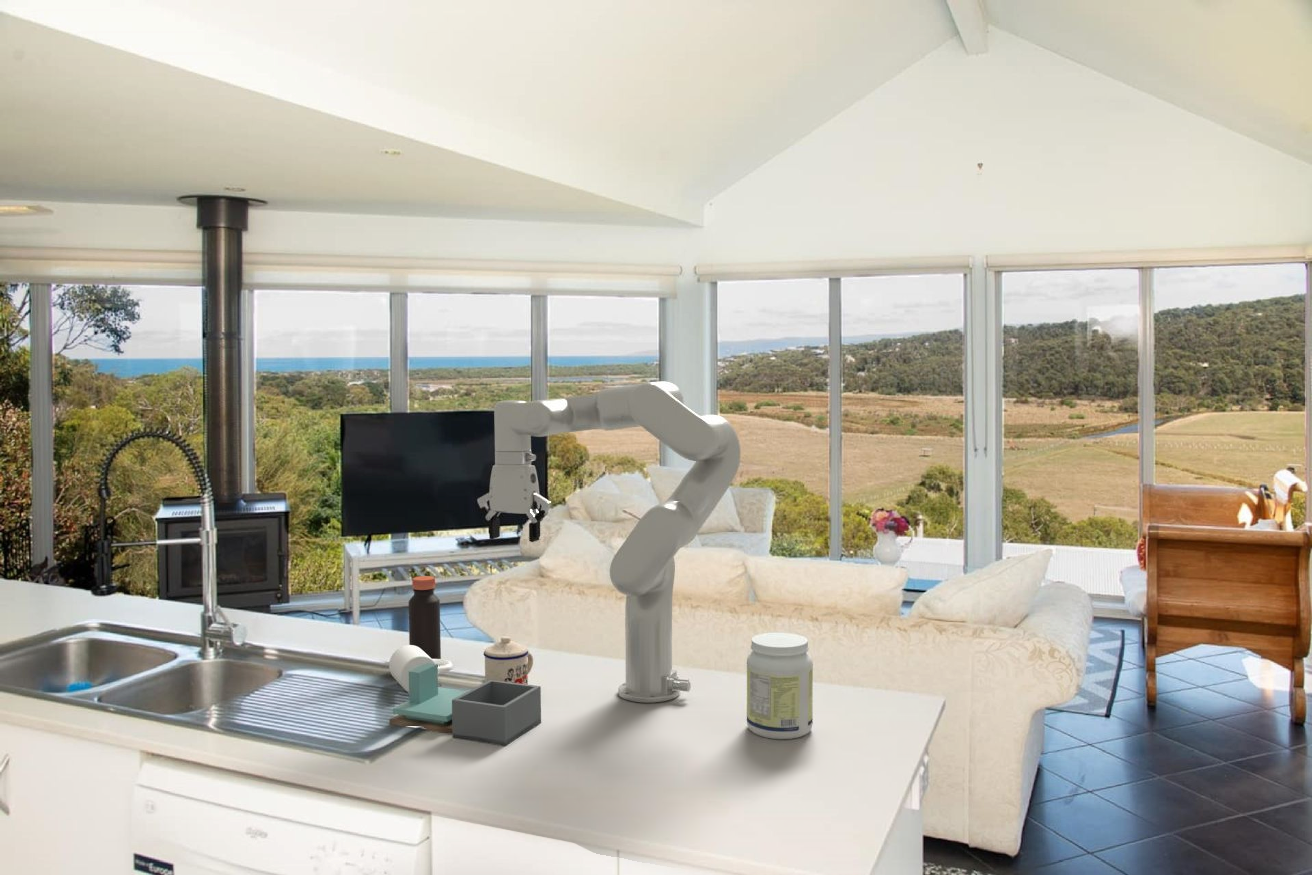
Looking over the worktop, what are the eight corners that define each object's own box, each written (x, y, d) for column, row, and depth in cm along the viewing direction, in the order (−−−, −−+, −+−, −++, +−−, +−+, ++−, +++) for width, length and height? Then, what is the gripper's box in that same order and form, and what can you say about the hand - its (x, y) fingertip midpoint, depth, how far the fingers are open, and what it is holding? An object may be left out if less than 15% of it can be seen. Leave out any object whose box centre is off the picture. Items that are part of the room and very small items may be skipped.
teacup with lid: (506, 702, 210) (505, 645, 209) (474, 694, 215) (473, 638, 214) (547, 687, 219) (547, 632, 218) (516, 679, 225) (516, 626, 224)
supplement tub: (774, 713, 202) (774, 627, 201) (826, 729, 194) (826, 639, 192) (732, 729, 194) (732, 639, 193) (784, 746, 185) (785, 652, 184)
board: (493, 710, 205) (493, 705, 205) (452, 734, 192) (452, 728, 192) (433, 701, 210) (433, 696, 210) (389, 724, 197) (389, 718, 197)
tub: (541, 722, 198) (540, 686, 197) (505, 745, 186) (504, 707, 185) (490, 715, 202) (490, 679, 202) (452, 737, 190) (451, 699, 190)
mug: (400, 697, 214) (399, 658, 213) (389, 684, 222) (388, 647, 222) (458, 688, 219) (457, 651, 219) (444, 676, 228) (444, 639, 227)
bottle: (447, 664, 237) (445, 576, 235) (428, 672, 230) (426, 582, 229) (422, 660, 239) (420, 574, 238) (403, 668, 233) (401, 579, 232)
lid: (488, 704, 205) (487, 663, 205) (447, 728, 192) (446, 684, 192) (436, 697, 210) (435, 657, 209) (393, 719, 197) (392, 676, 196)
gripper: (557, 458, 221) (558, 539, 223) (487, 456, 228) (488, 534, 229) (540, 462, 214) (541, 545, 216) (468, 459, 221) (469, 539, 222)
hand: (514, 539), depth 222 cm, fingers open, 9 cm apart
